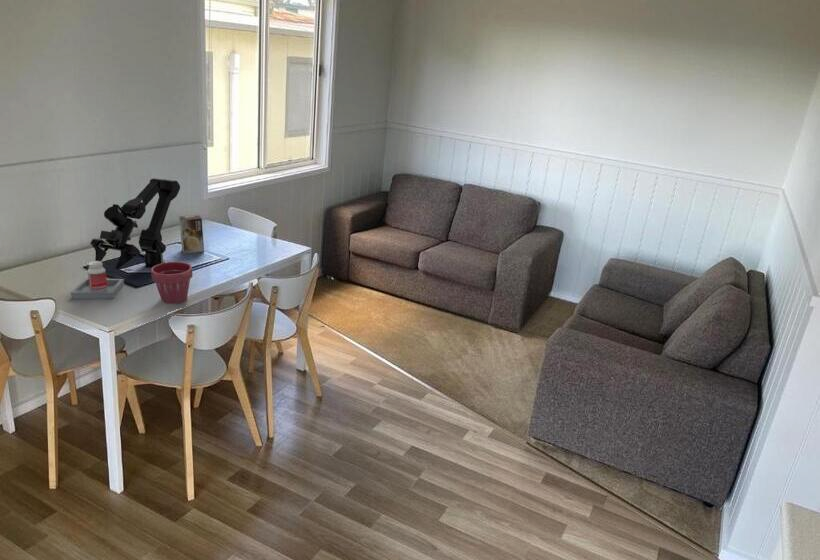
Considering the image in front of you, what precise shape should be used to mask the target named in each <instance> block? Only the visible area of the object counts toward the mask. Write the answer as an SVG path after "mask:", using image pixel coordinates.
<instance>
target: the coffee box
mask: <svg viewBox="0 0 820 560" xmlns="http://www.w3.org/2000/svg"><path fill="white" fill-rule="evenodd" d="M178 219H179V229H180V230H179V231H180V242H181V251H182V253H183V254H185V255H186V254H195V253H204V252H205V243H204V231H203V230H204V229H203V218H202V217H201V216H200V215H184V216H183V215H181V216H178Z"/></svg>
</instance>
